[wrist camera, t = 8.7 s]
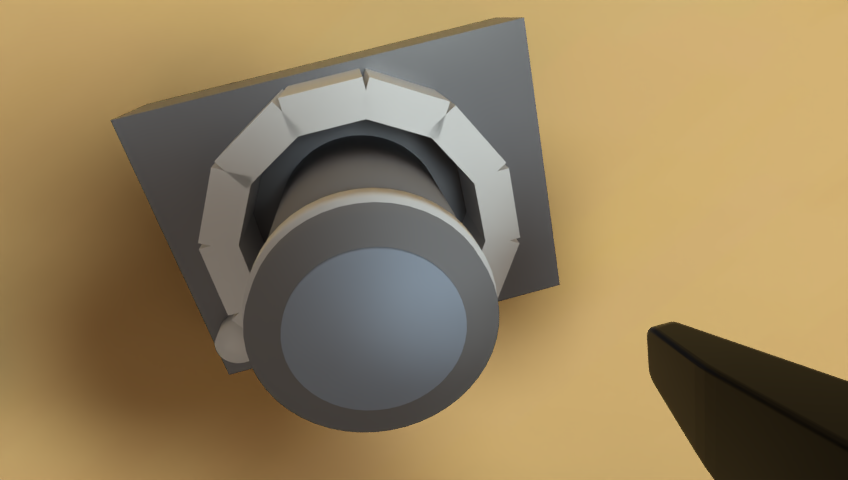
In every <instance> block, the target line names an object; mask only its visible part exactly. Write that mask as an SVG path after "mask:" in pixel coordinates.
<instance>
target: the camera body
mask: <svg viewBox="0 0 848 480" xmlns="http://www.w3.org/2000/svg"><path fill="white" fill-rule="evenodd" d="M111 122H112V124H113V126H114V129H115V131H116V133H117V135H118V137H119V139H120V141H121V144H122V146H123V148H124V150H125V152H126V154H127V157H128V159H129V161H130V163H131V165H132V167H133V169H134V172H135V174H136V176H137V178H138V180H139V182H140V184H141V187H142V189H143V191H144V193H145V195H146V197H147V199H148V202H149V204H150V206H151V208H152V210H153V212H154V215H155V217H156V219H157V221H158V223H159V225H160V227H161V230H162V232H163V234H164V236H165V238H166V240H167V242H168V245H169V247H170V249H171V251H172V253H173V255H174V257H175V260H176V262H177V264H178V266H179V268H180V270H181V273H182V275H183V277H184V279H185V281H186V283H187V285H188V288H189V290H190V292H191V294H192V296H193V298H194V300H195V303H196V305H197V307H198V309H199V311H200V313H201V316H202V318H203V320H204V322H205V324H206V326H207V328H208V331H209V333H210V335H211V337H212V339H213V341H214V343H215V349H216V351H217V353H218V354H219V355H220V356H221V358H222V361H223V363H224V365H225V367H226V369H227V371H228V374H229V375H230V374H233V373H237V372H241V371H244V370H248V369H252V366H251V364H250V361H249V358H248V356H247V353H246V348H245V343H244V338H243V324H242V305H243V297H244V292H245V288H246V285H247V281H248V278H249V275H250V272H251V270H252V267H253V264H254V262H255V260H256V258H257V256H258V254H259V251H260V250H261V248H262V247H263V245H264V244H265V242H266V241H267V239H268V236H269V233H270V230H271V227H272V224H273V221H274V219H275V216H276V213H277V210H278V207H279V204H280V201H281V198H282V195H283V192H284V189H285V186H286V184H287V182H288V180H289V177H290V175H291V174H292V172H293V171H294V169H295V168H296V166H297V165H298V164H299V163H300V162H301V160H302V159H303V158H304V157H306V156H307V155H308V154H309V153H310V152H311V151H313V150H314V149H316V148H317V147H319V146H321V145H323V144H325V143H327V142H329V141H332V140H335V139H338V138H341V137H346V136H353V135H369V136H376V137H381V138H385V139H388V140H391V141H394V142H396V143H398V144H400V145H402V146H403V147H405V148H406V149H408V150H409V151H411V152H412V153H413V154H414V155H416V156H417V157H418V158H419V159H420V160H421V161H422V163H423V164H424V165H425V166H426V167H427V169H428V171H429V172H430V174H431V175H432V177H433V179H434V180H435V182H436V184H437V185H438V187H439V189H440V191H441V192H442V194H443V196H444V197H445V199H446V201H447V202H448V204H449V206H450V207H451V209H452V211H453V212H454V214H455V216H456V218H457V219H458V220H459V221H460V222H461V223H462V224H463V225H464V226H465V227H466V229H467V230H468V231H469V232H470V233H471V235H472V236H473V238H474V239H475V241H476V242H477V244H478V246H479V247H480V249H481V250H482V252H483V254H484V255H485V257H486V259H487V261H488V263H489V266H490V268H491V270H492V273H493V277H494V281H495V284H496V292H497V297H498V301H502V300H505V299H509V298H513V297H516V296H520V295H524V294H527V293H531V292H535V291H538V290H542V289H546V288H549V287H553V286H557V285H560V284H559V276H558V269H557V261H556V254H555V246H554V239H553V231H552V224H551V216H550V209H549V201H548V194H547V186H546V179H545V171H544V164H543V157H542V149H541V142H540V134H539V127H538V119H537V112H536V104H535V97H534V89H533V82H532V74H531V67H530V59H529V52H528V44H527V37H526V29H525V22H524V18H493V19H489V20H485V21H481V22H477V23H473V24H469V25H465V26H461V27H457V28H453V29H449V30H444V31H440V32H436V33H432V34H428V35H424V36H420V37H416V38H412V39H408V40H404V41H400V42H396V43H392V44H388V45H384V46H380V47H376V48H372V49H368V50H364V51H360V52H356V53H352V54H348V55H344V56H340V57H336V58H332V59H328V60H324V61H319V62H315V63H311V64H307V65H303V66H299V67H295V68H291V69H287V70H283V71H279V72H275V73H271V74H267V75H263V76H259V77H255V78H251V79H247V80H243V81H239V82H235V83H231V84H227V85H223V86H219V87H215V88H211V89H207V90H203V91H199V92H194V93H190V94H186V95H182V96H178V97H174V98H170V99H166V100H162V101H158V102H154V103H150V104H146V105H144V106H142V107H140V108H137V109H135V110H133V111H131V112H128V113H126V114H124V115H122V116H119V117H117V118H115V119H113V120H111Z"/></svg>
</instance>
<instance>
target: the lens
mask: <svg viewBox="0 0 848 480" xmlns="http://www.w3.org/2000/svg"><path fill="white" fill-rule="evenodd" d="M242 324H243V338H244V343H245V348H246V353H247V356H248V358H249V361H250V364H251V366H252V368H253V370H254V372H255V374H256V376H257V378H258V379H259V381H260V382H261V383H262V385H263V386H264V387H265V389H266V390H267V391H268V392H269V393H270V394H271V395H272V396H273V397H274V398H275V399H276V400H277V401H278V402H279V403H280V404H282V405H283V406H284V407H286V408H287V409H288V410H290V411H291V412H293V413H295V414H296V415H298V416H300V417H301V418H304V419H306V420H308V421H310V422H313V423H315V424H318V425H321V426H324V427H328V428H332V429H337V430H342V431H350V432H379V431H387V430H393V429H398V428H402V427H406V426H409V425H412V424H415V423H418V422H420V421H423V420H425V419H427V418H429V417H431V416H433V415H435V414H437V413H439V412H440V411H442V410H444V409H445V408H447V407H448V406H449V405H451V404H452V403H453V402H455V401H456V400H457V399H459V398H460V397H461V396H462V395H463V394H464V393H465V392H466V391H467V390H468V389H469V388H470V387H471V386H472V384H473V383H474V382H475V381H476V380H477V379H478V377H479V376H480V374H481V373H482V371H483V369H484V368H485V366H486V365H487V362H488V360H489V358H490V356H491V354H492V352H493V348H494V345H495V342H496V339H497V333H498V327H499V306H498V297H497V292H496V284H495V281H494V277H493V273H492V270H491V268H490V266H489V263H488V261H487V259H486V257H485V255H484V254H483V252H482V250H481V249H480V247H479V246H478V244H477V242H476V241H475V239H474V238H473V236H472V235H471V233H470V232H469V231H468V230H467V229H466V227H465V226H464V225H463V224H462V223H461V222H460V221H459V220H458V219H457V218H456V216H455V214H454V212H453V211H452V209H451V207H450V206H449V204H448V202H447V201H446V199H445V197H444V196H443V194H442V192H441V191H440V189H439V187H438V185H437V184H436V182H435V180H434V179H433V177H432V175H431V174H430V172H429V171H428V169H427V167H426V166H425V165H424V164H423V163H422V161H421V160H420V159H419V158H418V157H417V156H416V155H414V154H413V153H412V152H411V151H409V150H408V149H406V148H405V147H403V146H402V145H400V144H398V143H396V142H394V141H391V140H388V139H385V138H381V137H376V136H369V135H353V136H346V137H341V138H338V139H335V140H332V141H329V142H327V143H325V144H323V145H321V146H319V147H317V148H316V149H314V150H313V151H311V152H310V153H309V154H308V155H307V156H306V157H304V158H303V159H302V160H301V162H300V163H299V164H298V165H297V166H296V168H295V169H294V171H293V172H292V174H291V175H290V177H289V180H288V182H287V184H286V186H285V189H284V192H283V195H282V198H281V201H280V204H279V207H278V210H277V213H276V216H275V219H274V221H273V224H272V227H271V230H270V233H269V236H268V239H267V241H266V242H265V244H264V245H263V247H262V248H261V250H260V251H259V254H258V256H257V258H256V260H255V262H254V264H253V267H252V270H251V272H250V275H249V278H248V281H247V285H246V288H245V292H244V297H243V305H242Z"/></svg>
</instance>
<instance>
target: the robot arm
mask: <svg viewBox="0 0 848 480" xmlns="http://www.w3.org/2000/svg"><path fill="white" fill-rule="evenodd" d="M647 345H648V362H649V372H650V375H651V378H652V381H653V383H654V384H655V386H656V388H657V389H658V391H659V393H660V394H661V396H662V398H663V399H664V401H665V403H666V404H667V406H668V408H669V409H670V411H671V413H672V414H673V416H674V417H675V419H676V421H677V422H678V424H679V426H680V427H681V429H682V431H683V432H684V434H685V436H686V437H687V439H688V441H689V442H690V444H691V445H692V447H693V449H694V450H695V452H696V454H697V455H698V457H699V458H700V460H701V461H702V463H703V465H704V466H705V467H706V469H707V470H708V472H709V473H710V474H711V476H712V477H713V479H714V480H848V381H846V380H843V379H840V378H837V377H834V376H831V375H829V374H826V373H823V372H820V371H817V370H814V369H811V368H808V367H805V366H802V365H799V364H797V363H794V362H791V361H788V360H785V359H782V358H779V357H776V356H773V355H770V354H767V353H765V352H762V351H759V350H756V349H753V348H750V347H747V346H744V345H741V344H738V343H735V342H732V341H730V340H727V339H724V338H721V337H718V336H715V335H712V334H709V333H706V332H703V331H700V330H698V329H695V328H692V327H689V326H686V325H683V324H680V323H677V322H668V323H665V324H661V325H657V326H654V327H651V328H650V329H649V330H648V333H647Z"/></svg>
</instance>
